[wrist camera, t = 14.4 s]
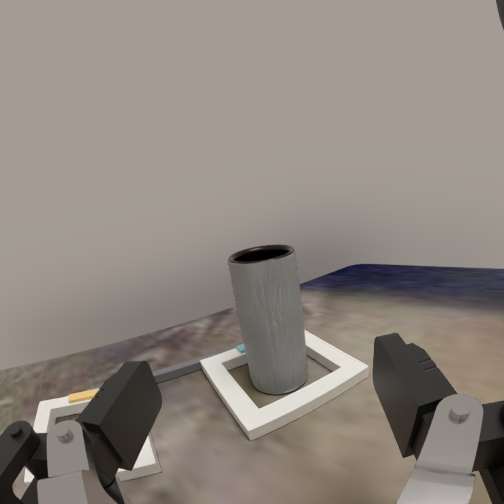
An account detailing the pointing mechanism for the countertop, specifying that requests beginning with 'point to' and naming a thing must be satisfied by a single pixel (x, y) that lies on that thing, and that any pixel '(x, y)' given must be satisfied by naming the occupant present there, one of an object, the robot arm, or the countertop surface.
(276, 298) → the planter
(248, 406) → the socket
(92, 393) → the socket
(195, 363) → the thin gray bar
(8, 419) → the countertop surface
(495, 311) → the countertop surface
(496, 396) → the countertop surface
